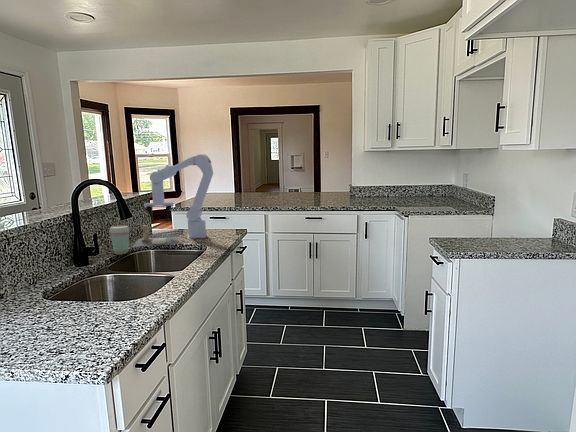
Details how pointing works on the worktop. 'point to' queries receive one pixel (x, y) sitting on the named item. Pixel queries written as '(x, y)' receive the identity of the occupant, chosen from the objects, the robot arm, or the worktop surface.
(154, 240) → the tile
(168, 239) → the mat
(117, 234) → the coffee cup
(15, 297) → the worktop surface
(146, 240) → the stepped wooden block
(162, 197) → the robot arm
